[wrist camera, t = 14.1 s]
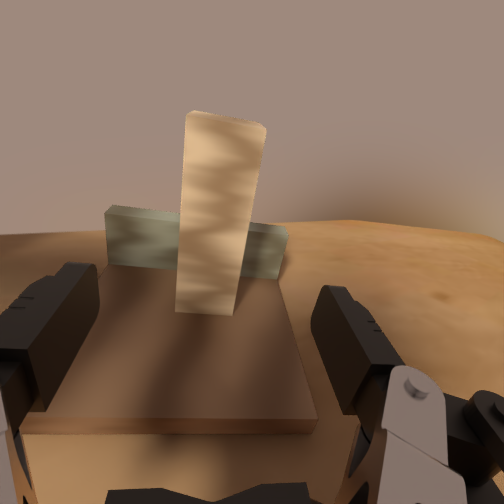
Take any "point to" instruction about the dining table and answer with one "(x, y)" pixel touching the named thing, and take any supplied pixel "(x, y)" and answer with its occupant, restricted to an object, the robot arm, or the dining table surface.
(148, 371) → the floor board
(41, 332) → the robot arm
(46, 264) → the dining table surface
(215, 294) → the batten
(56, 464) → the dining table surface
